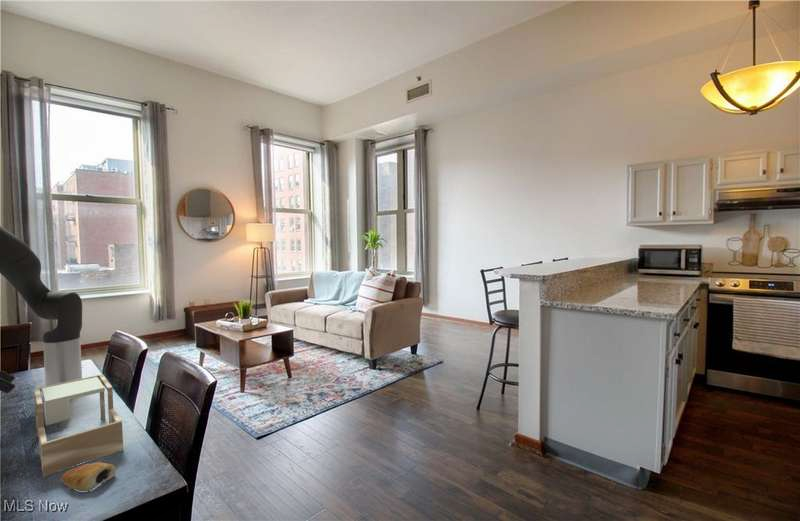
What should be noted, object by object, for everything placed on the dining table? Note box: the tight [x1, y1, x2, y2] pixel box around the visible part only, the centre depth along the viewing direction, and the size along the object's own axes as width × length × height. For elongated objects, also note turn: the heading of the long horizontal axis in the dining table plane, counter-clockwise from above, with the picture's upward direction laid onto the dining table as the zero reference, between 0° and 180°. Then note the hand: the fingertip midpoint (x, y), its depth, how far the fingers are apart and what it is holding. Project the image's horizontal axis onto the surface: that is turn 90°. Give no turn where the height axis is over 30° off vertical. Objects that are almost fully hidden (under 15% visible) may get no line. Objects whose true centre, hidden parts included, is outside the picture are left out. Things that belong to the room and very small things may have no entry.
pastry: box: [61, 461, 117, 491], centre depth 77 cm, size 9×7×4 cm
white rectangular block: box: [43, 399, 71, 426], centre depth 104 cm, size 5×5×8 cm
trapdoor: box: [41, 377, 106, 405], centre depth 95 cm, size 11×11×1 cm
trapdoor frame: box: [33, 374, 124, 478], centre depth 91 cm, size 24×14×12 cm, turn 47°
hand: (11, 385), depth 97 cm, fingers open, 8 cm apart
